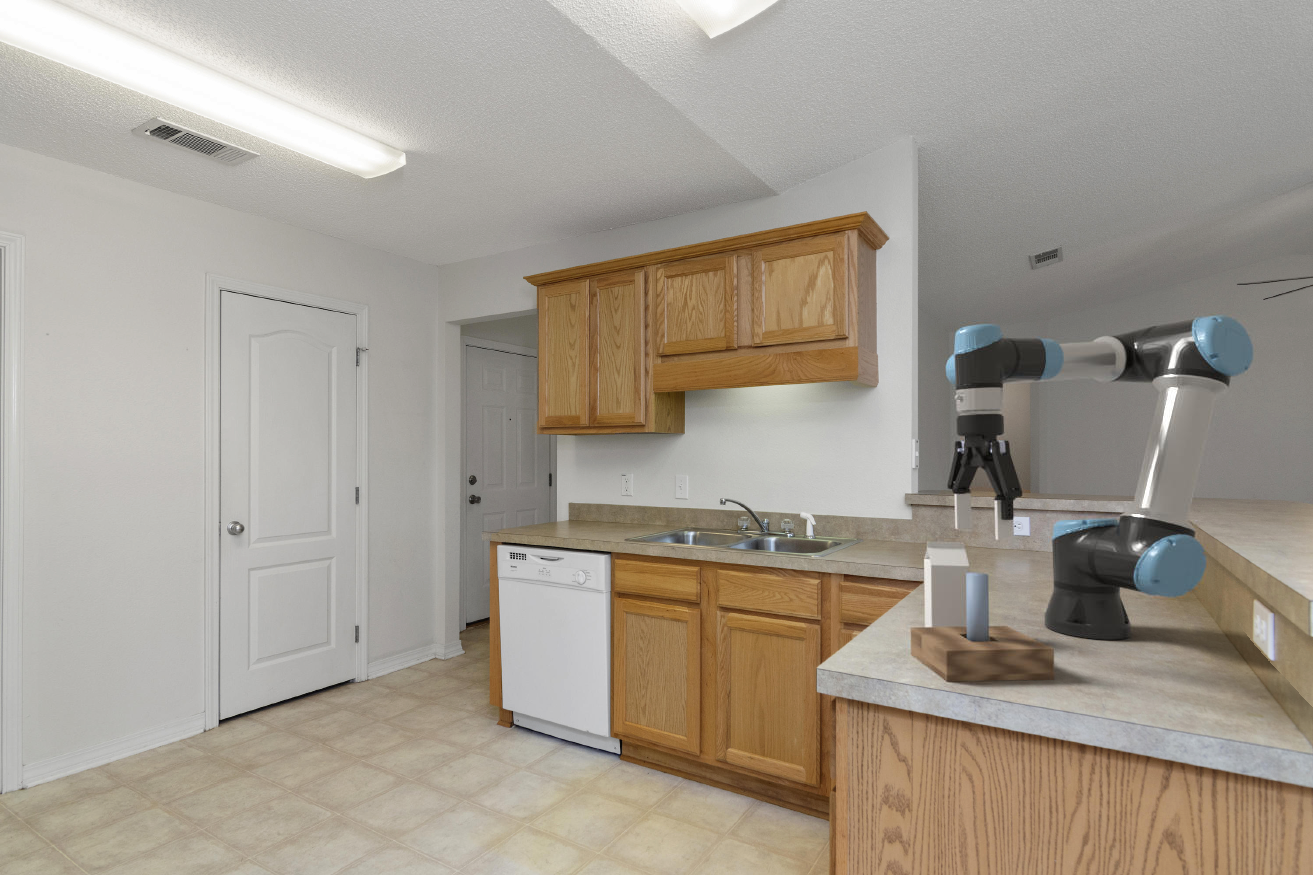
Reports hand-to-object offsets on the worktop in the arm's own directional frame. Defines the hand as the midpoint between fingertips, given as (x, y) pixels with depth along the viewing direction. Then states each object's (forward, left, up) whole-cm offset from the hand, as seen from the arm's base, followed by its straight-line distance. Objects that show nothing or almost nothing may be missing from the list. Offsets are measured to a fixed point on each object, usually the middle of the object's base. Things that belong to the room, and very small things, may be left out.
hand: (982, 534), depth 118 cm
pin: (+2, +1, -22) cm, 22 cm away
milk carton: (-1, -17, -23) cm, 29 cm away
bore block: (+2, +1, -23) cm, 23 cm away
